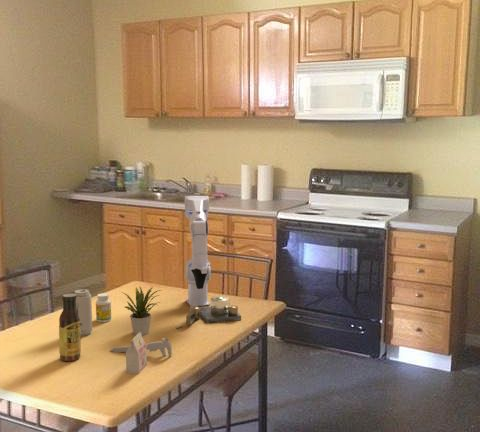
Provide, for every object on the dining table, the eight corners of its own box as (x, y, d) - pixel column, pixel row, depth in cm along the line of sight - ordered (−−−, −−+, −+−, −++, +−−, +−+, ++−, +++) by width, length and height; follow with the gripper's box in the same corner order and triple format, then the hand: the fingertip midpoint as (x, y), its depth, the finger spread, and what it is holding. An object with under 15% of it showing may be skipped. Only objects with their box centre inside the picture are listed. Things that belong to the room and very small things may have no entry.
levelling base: (167, 314, 218) (166, 296, 217) (229, 308, 226) (229, 291, 225) (176, 329, 202) (176, 310, 201) (243, 321, 210) (243, 303, 209)
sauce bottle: (69, 364, 172) (66, 299, 169) (55, 359, 175) (52, 296, 172) (86, 356, 178) (83, 294, 175) (72, 352, 181) (69, 291, 178)
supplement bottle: (112, 321, 210) (111, 295, 209) (97, 323, 208) (96, 297, 207) (109, 317, 215) (109, 292, 214) (95, 318, 213) (94, 293, 211)
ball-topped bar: (191, 316, 215) (191, 305, 215) (200, 316, 214) (200, 306, 214) (183, 325, 205) (183, 315, 204) (193, 326, 204) (193, 315, 203)
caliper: (171, 356, 179) (171, 337, 178) (170, 358, 177) (170, 338, 177) (110, 351, 183) (110, 332, 182) (109, 352, 182) (108, 333, 181)
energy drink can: (70, 333, 198) (69, 291, 195) (86, 329, 202) (84, 287, 200) (80, 337, 194) (78, 294, 191) (95, 333, 198) (94, 290, 196)
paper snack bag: (126, 373, 166) (125, 339, 165) (135, 363, 173) (134, 331, 171) (138, 374, 165) (137, 340, 164) (146, 364, 172) (146, 332, 170)
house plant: (173, 332, 199) (172, 286, 196) (141, 343, 189) (140, 295, 186) (147, 323, 208) (146, 279, 206) (115, 333, 198) (114, 286, 196)
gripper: (215, 255, 208) (215, 292, 210) (204, 248, 222) (205, 283, 224) (196, 256, 206) (196, 293, 208) (187, 249, 220) (187, 284, 222)
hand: (199, 288), depth 216 cm, fingers closed
